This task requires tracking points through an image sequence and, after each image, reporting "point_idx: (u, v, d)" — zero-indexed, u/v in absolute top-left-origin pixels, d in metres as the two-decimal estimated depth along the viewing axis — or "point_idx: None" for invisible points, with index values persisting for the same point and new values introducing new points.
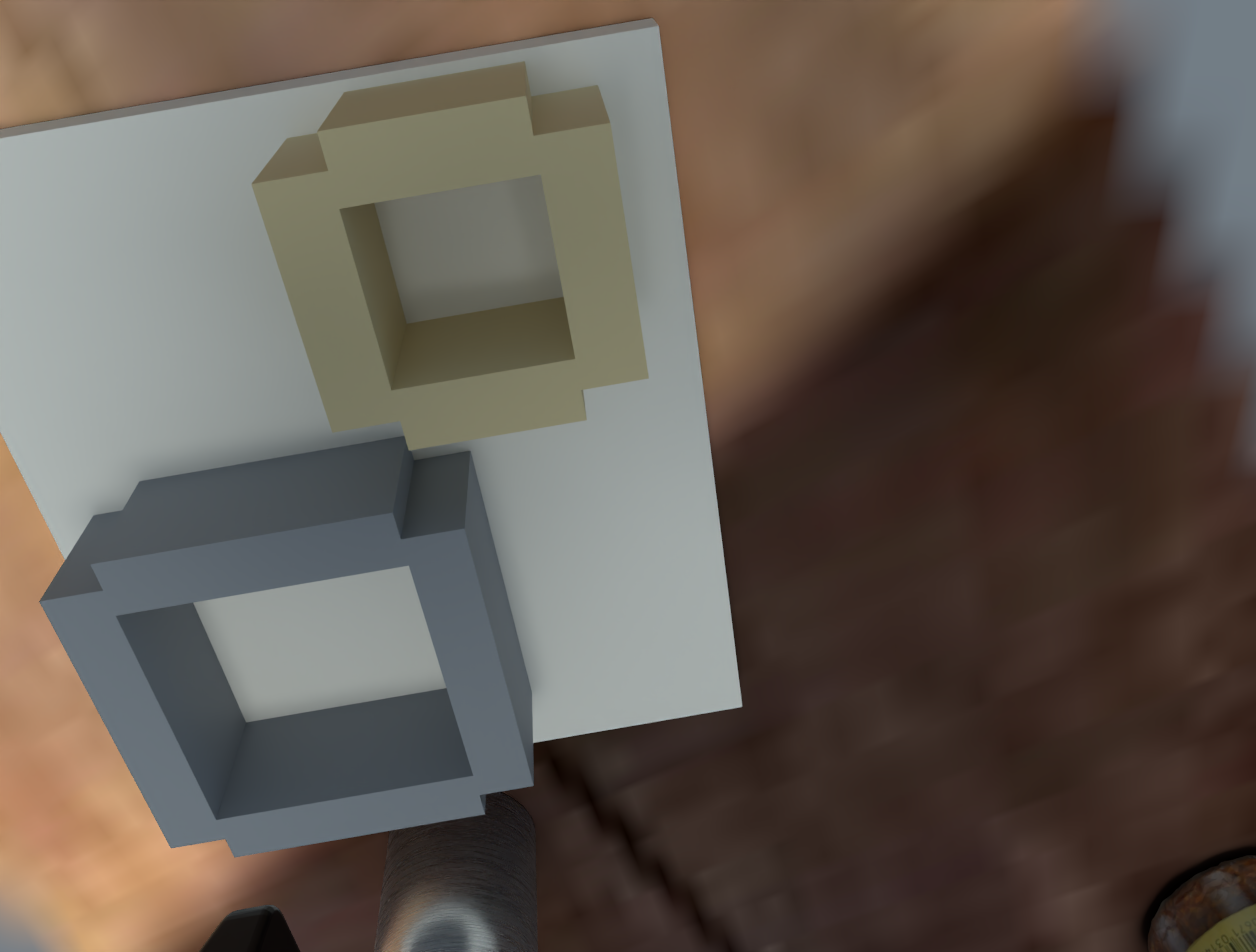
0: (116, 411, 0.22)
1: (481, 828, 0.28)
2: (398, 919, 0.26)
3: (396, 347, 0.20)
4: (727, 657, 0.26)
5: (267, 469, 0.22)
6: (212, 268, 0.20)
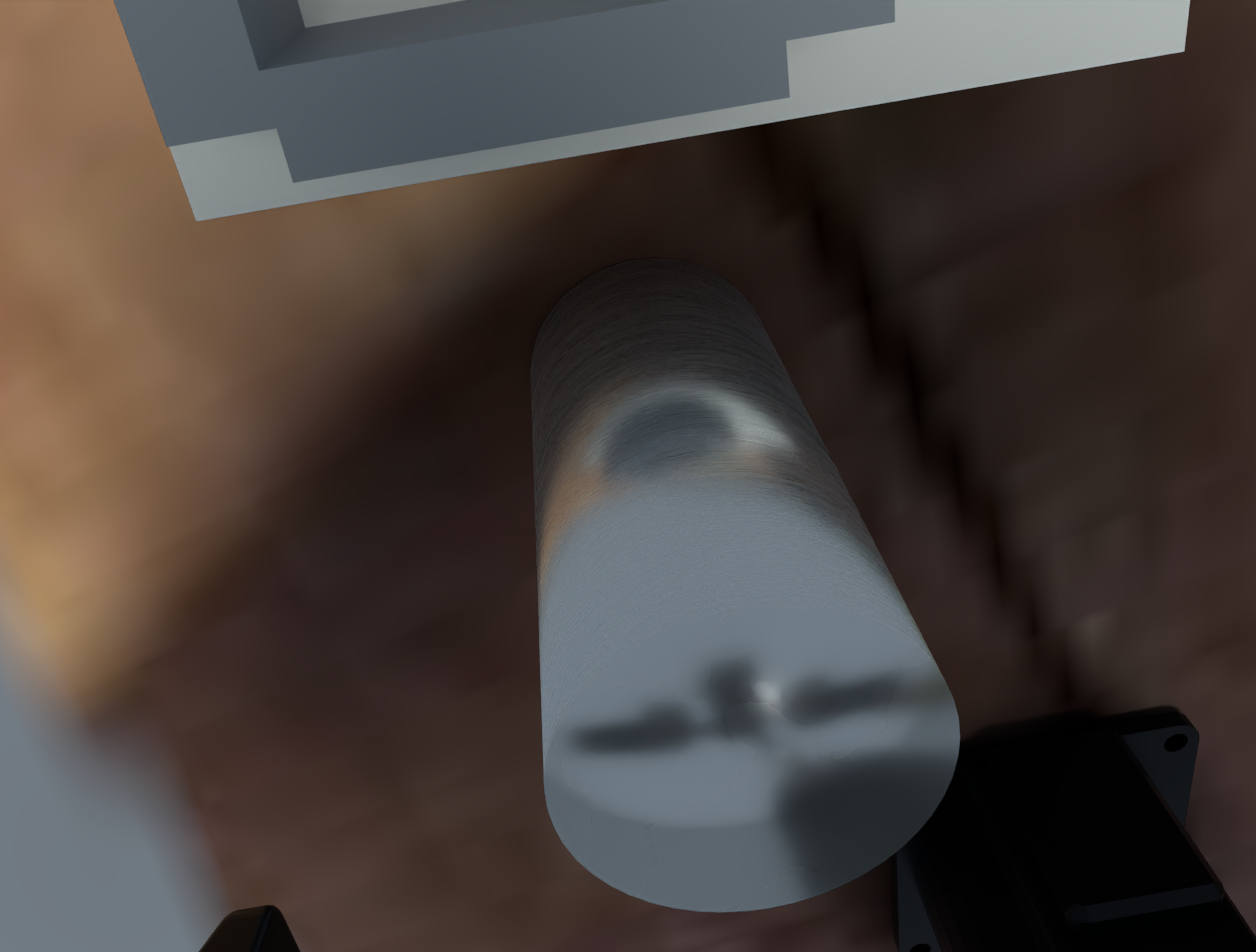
0: None
1: (708, 296, 0.16)
2: (587, 390, 0.14)
3: None
4: None
5: None
6: None
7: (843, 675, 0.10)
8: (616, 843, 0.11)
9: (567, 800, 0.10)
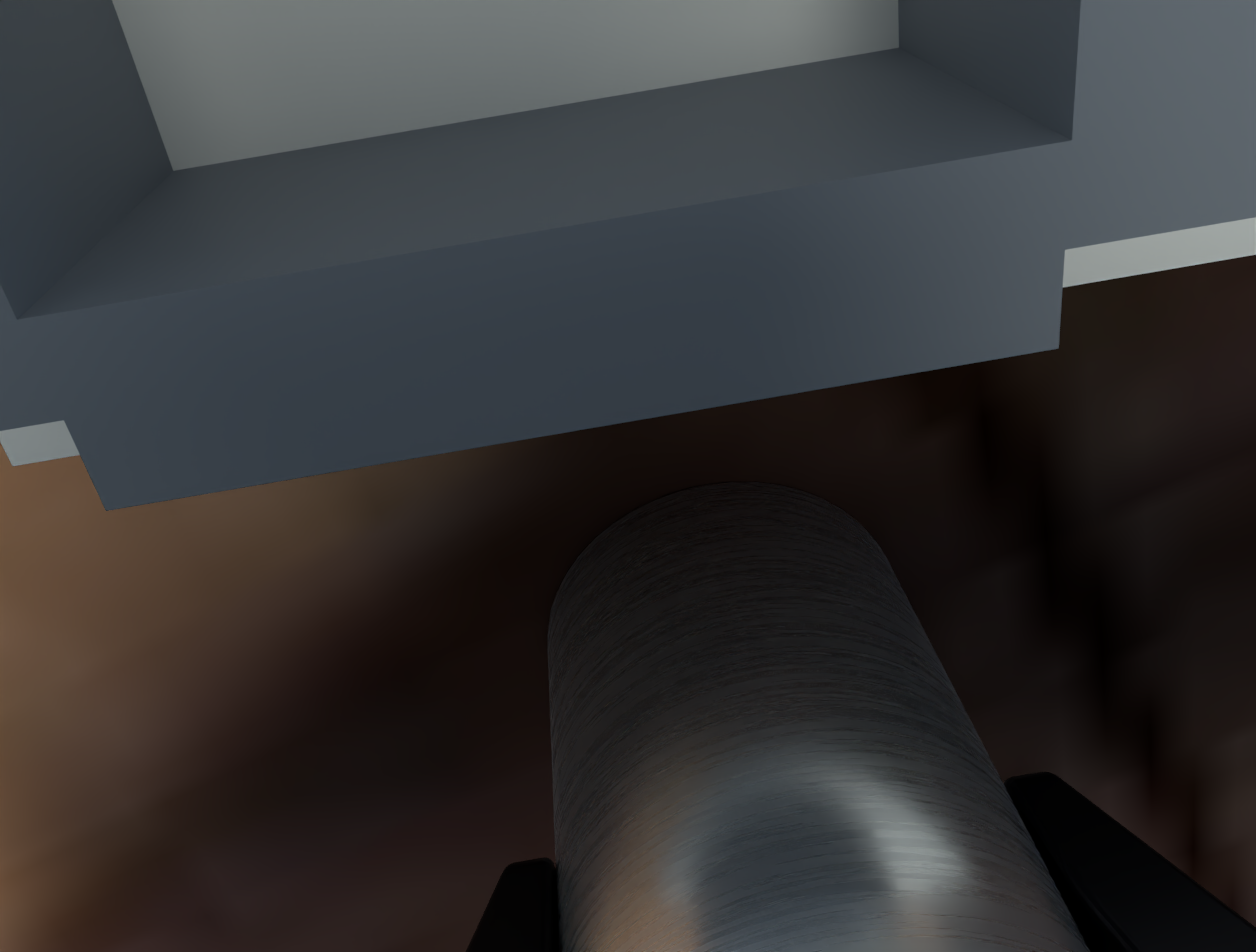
0: None
1: (830, 565, 0.10)
2: (650, 789, 0.08)
3: None
4: None
5: None
6: None
7: None
8: None
9: None
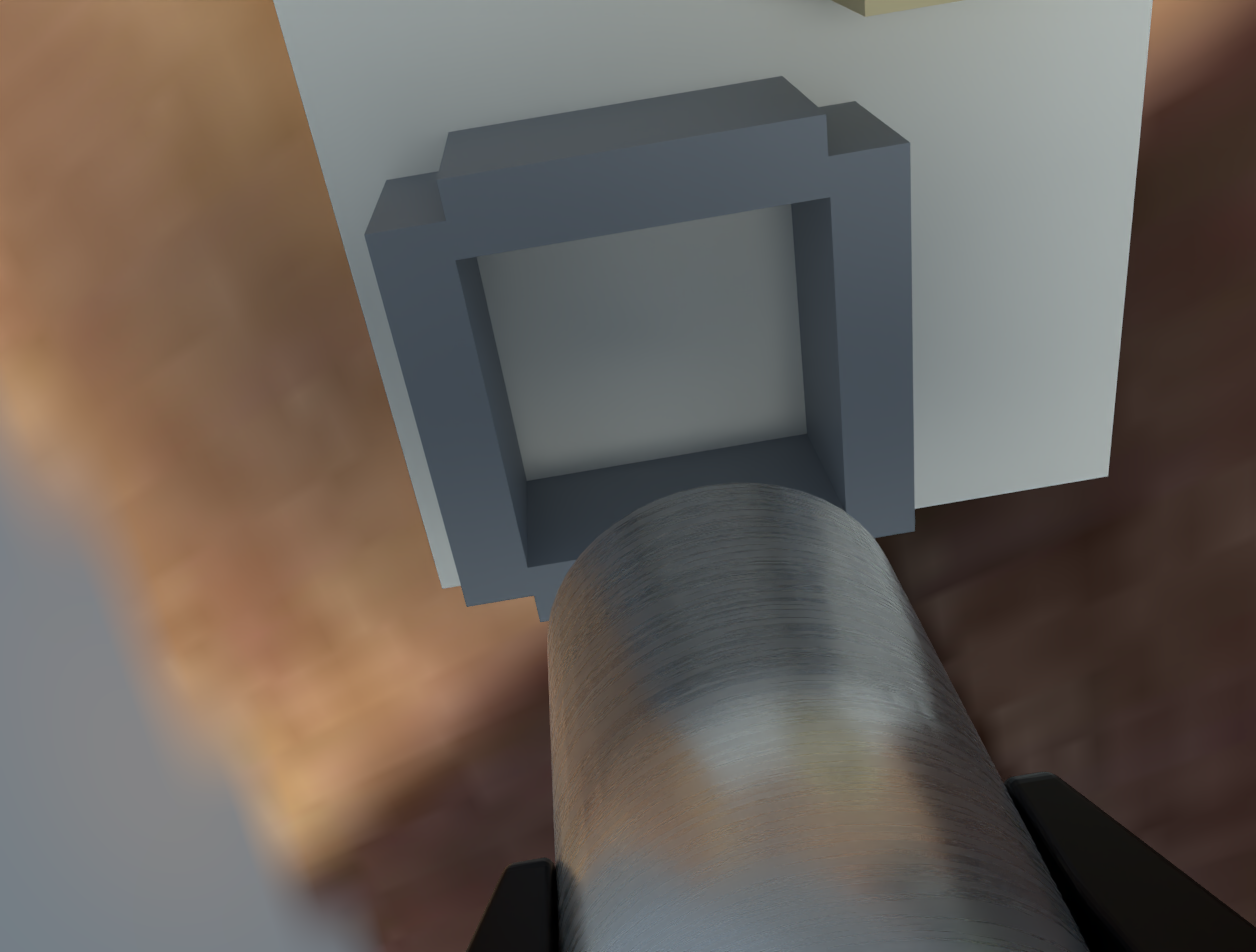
0: (434, 27, 0.17)
1: (829, 565, 0.10)
2: (650, 790, 0.08)
3: None
4: (1104, 407, 0.22)
5: (615, 110, 0.18)
6: None
7: None
8: None
9: None
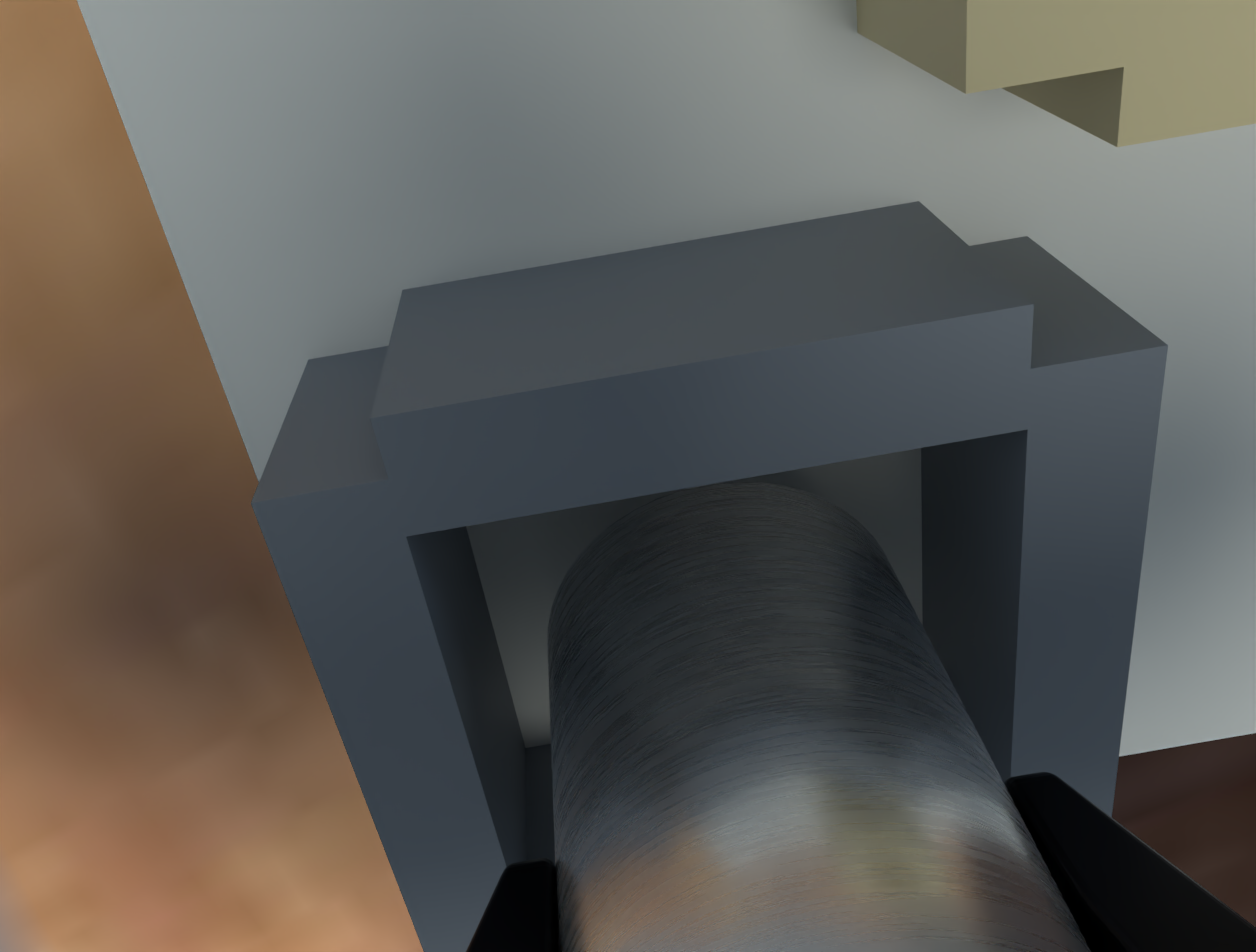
0: (375, 134, 0.11)
1: (829, 564, 0.10)
2: (650, 790, 0.08)
3: None
4: None
5: (662, 260, 0.11)
6: None
7: None
8: None
9: None
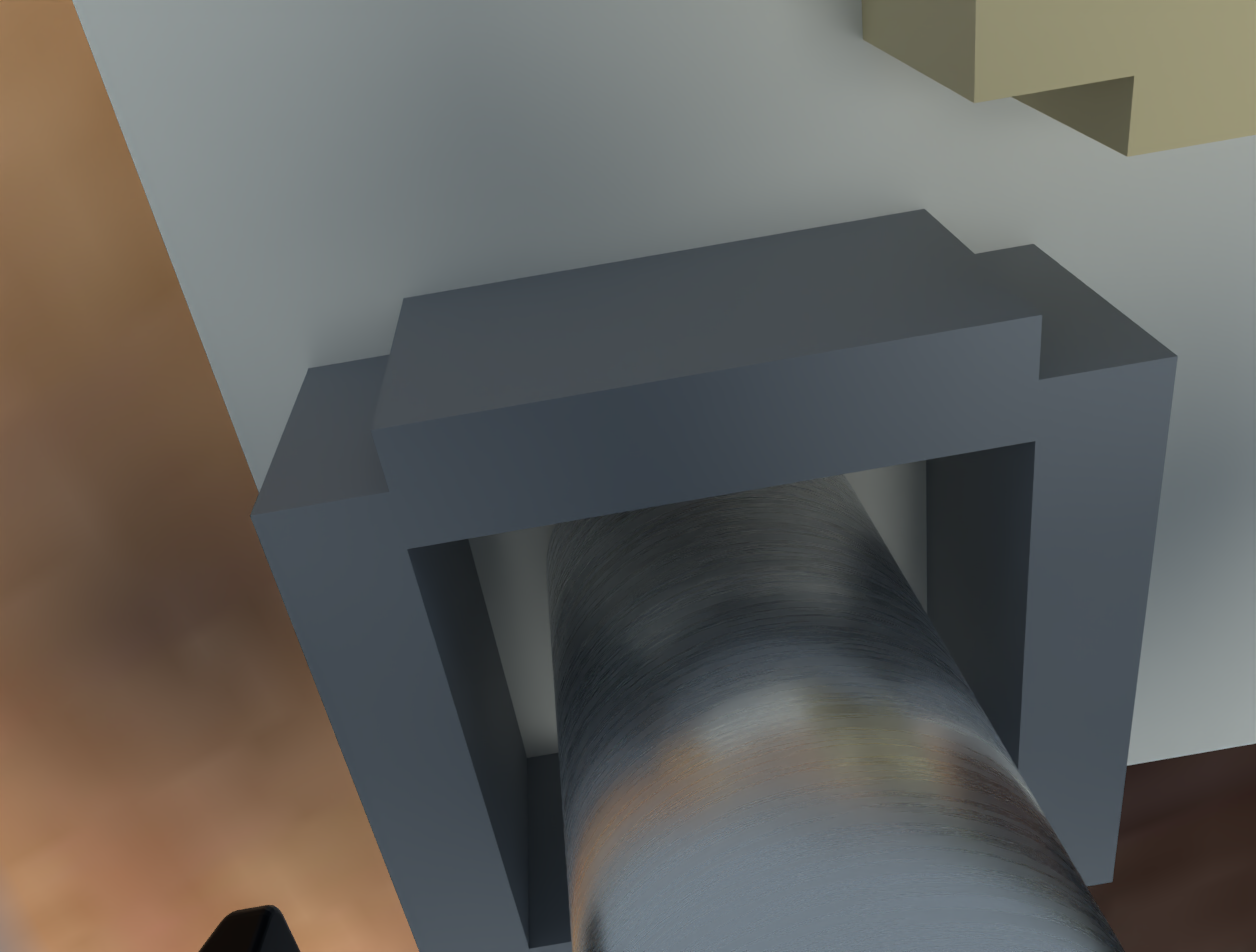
0: (376, 142, 0.11)
1: None
2: (641, 656, 0.09)
3: None
4: None
5: (665, 268, 0.11)
6: None
7: None
8: None
9: None
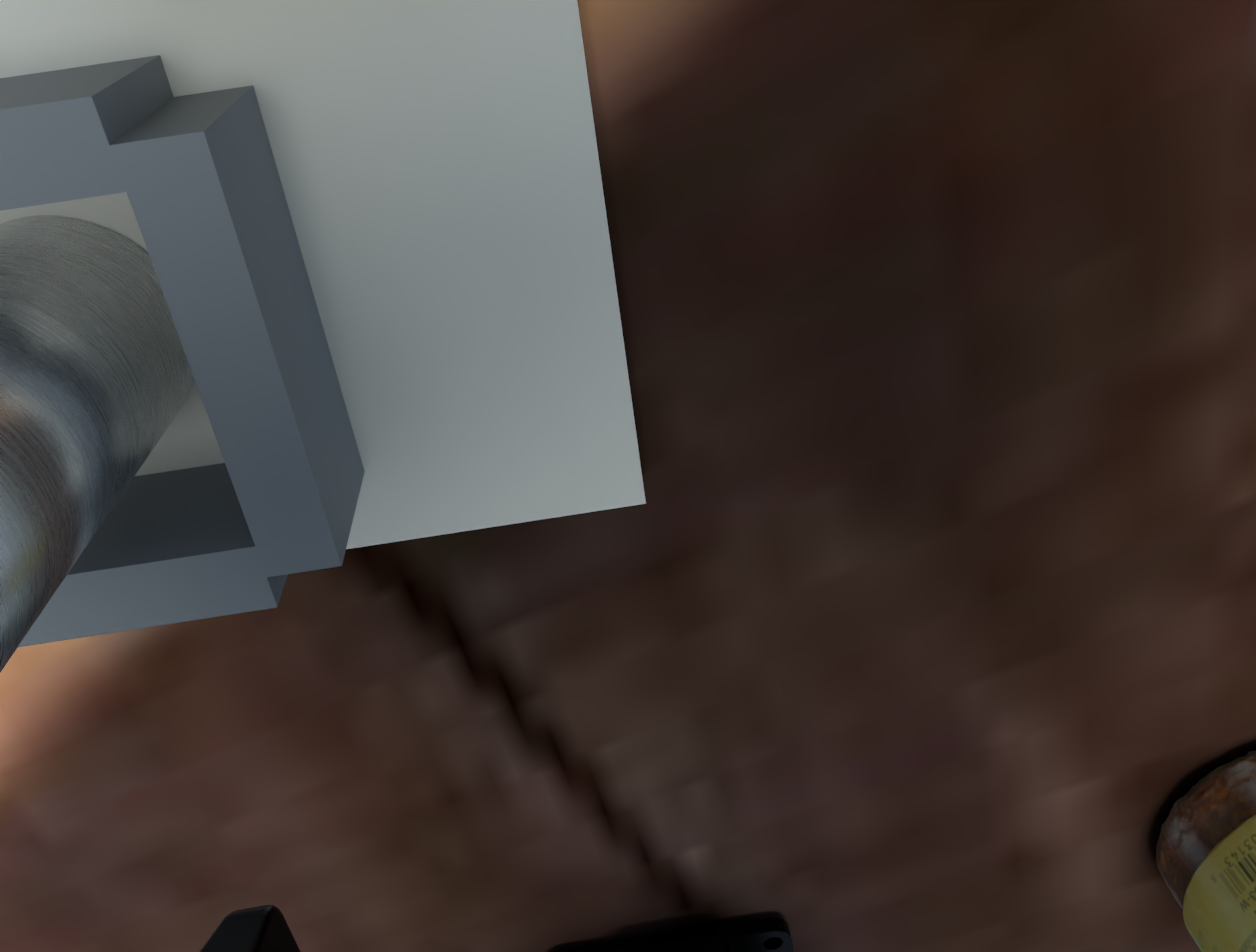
0: None
1: (55, 248, 0.16)
2: None
3: None
4: (624, 429, 0.20)
5: None
6: None
7: None
8: None
9: None
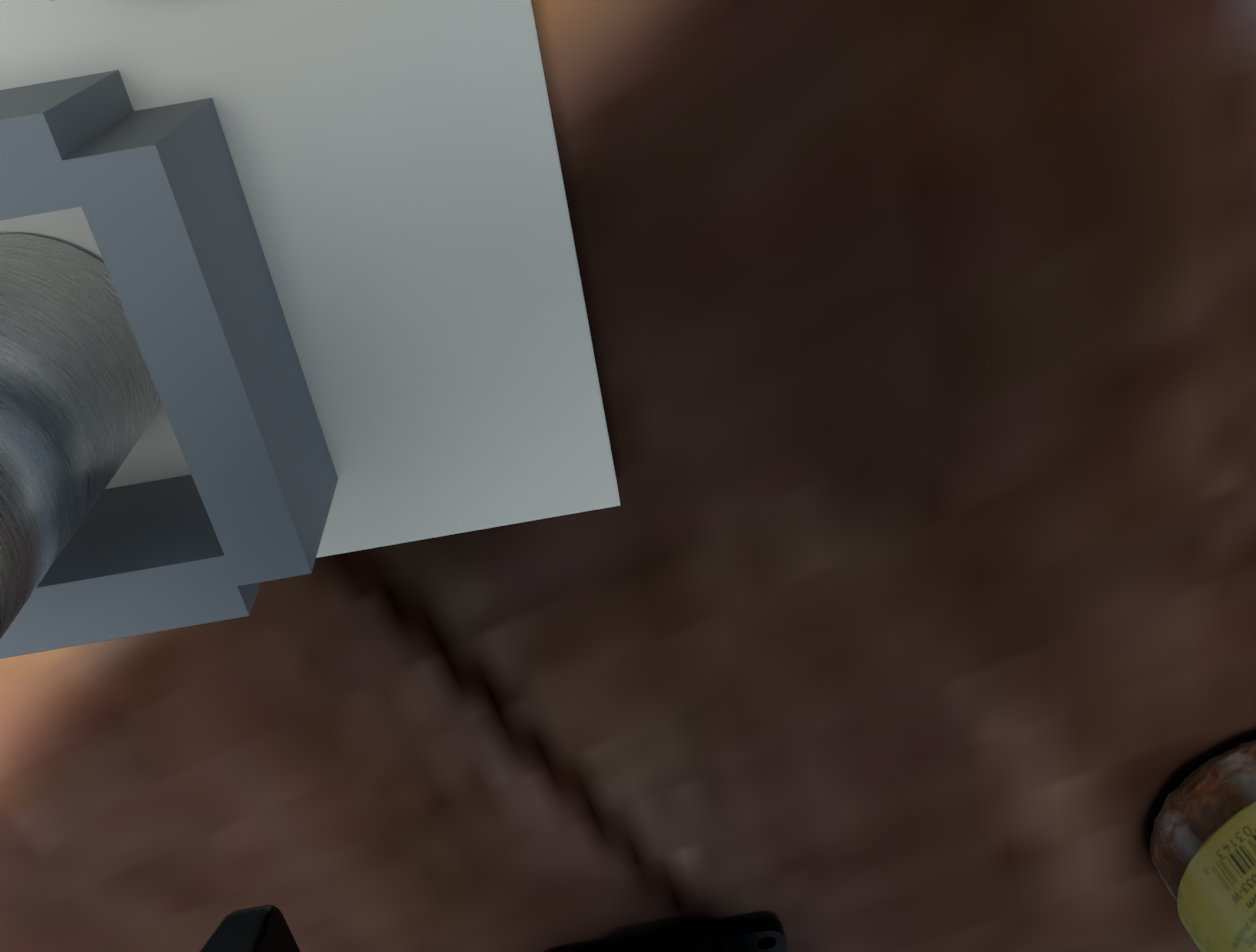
0: None
1: (10, 270, 0.16)
2: None
3: None
4: (595, 431, 0.20)
5: None
6: None
7: None
8: None
9: None
